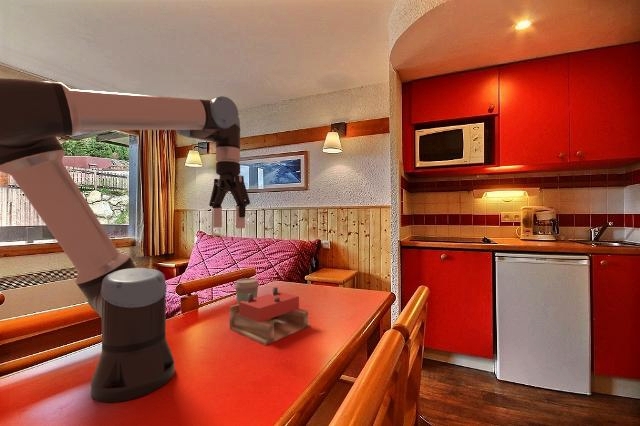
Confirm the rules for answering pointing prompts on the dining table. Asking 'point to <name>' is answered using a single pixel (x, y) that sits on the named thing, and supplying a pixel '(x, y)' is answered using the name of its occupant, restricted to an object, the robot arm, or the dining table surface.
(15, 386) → the dining table surface
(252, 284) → the coffee cup
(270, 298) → the red rectangular block
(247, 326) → the carcass
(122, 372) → the robot arm
